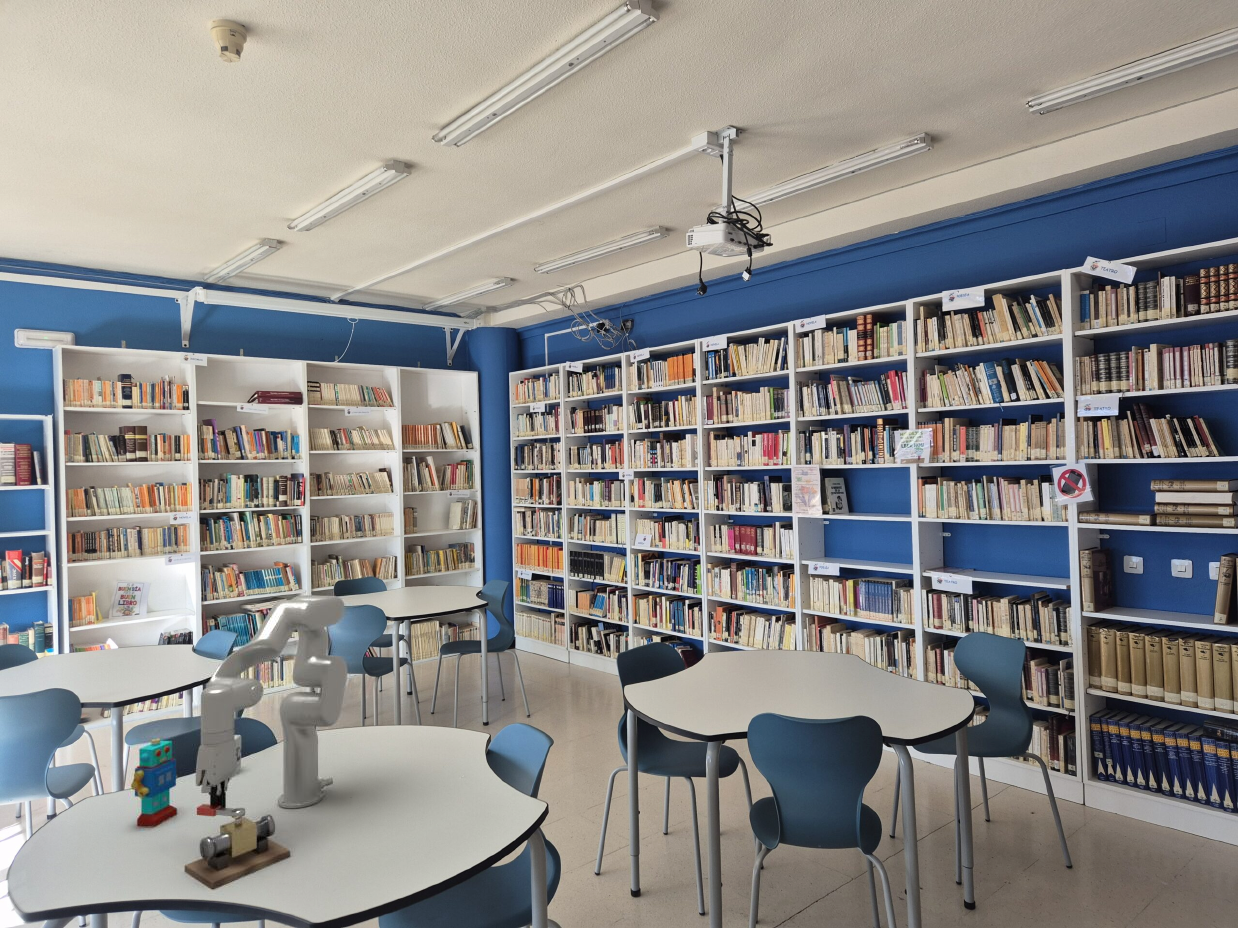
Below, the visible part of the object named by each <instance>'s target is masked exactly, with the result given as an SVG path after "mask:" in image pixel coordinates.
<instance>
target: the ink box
mask: <svg viewBox="0 0 1238 928" xmlns="http://www.w3.org/2000/svg"><path fill="white" fill-rule="evenodd" d="M234 738H235V743H236V752H237V770H236V772H235V773H234V776H233V777H235V776H236V774H237V773H238V774H239V773H240V772H241V771H242V735H240V734H234ZM238 774H237V775H238Z"/></svg>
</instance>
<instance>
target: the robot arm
mask: <svg viewBox="0 0 1238 928" xmlns="http://www.w3.org/2000/svg"><path fill="white" fill-rule="evenodd" d="M345 611H346V605H345V603H344V600H343V599H342V598H341V597H339V596H336V595H316V594H315V595H313V594H312V595H309V594H308V595H307V594H306V595H304V594H303V595H298V596H294V597H292V598H291V599H284V600H280V601H278V602H276V603H275V604H274V605H273V606H272V607H271V609H270V610H269V612H268V613H267V615H266V617H265V618H264V620H263V622H262V623H261V625H260V626H259V628H258V630H257V631H256V633H255V634H254V636H253V638H252V639H251V640H250V641H248V642H247V643H246V644H244V645H243V646H241V647H239V648H238V649H236V651H234V652H233V653H231V654H229V655H228V656H227V657H226V658H224V660H222V661H221V663H219V665H218V667H217V668H216V669H215V671H214V672H213V674H212V676H211V677H210V679H209V681H208V682H207V685H206V688H204V689H202V691H201V694H200V746H198V751H197V756H196V767H195V785H196V787H200V786H201V790H200V791H201V794H208V796H209V797H210V798H209V805H221V807H223V808H227V802H226V801H227V797H226V795H227V791H228V789H229V787H228V786H229V782H230V781H231V780H232V779H233V778H234V777H235V776H234V773H235V772H236V770H237V752H236V743H235V738H234V735H235V712H236V711H239V710H246V709H249V708H252V707H254V706H255V705H257V704H258V703H259V702H260V701H261V700H262V697H263V695H264V686H263V684H262V682H260V680H258V679H255V678H250V677H249V678H247V677H239V676H240V675H241V674H243V672H245V671H247V670H249V669H251V668H253V667H254V666H255V667H256V666H258V665H261V664H264V663H266V662H269V661H271V660H274V659H276V658H277V657H279V656H280V655H281V654H282V652H283V650H284V648H285V646H286V645H287V643H288V641H289V640H290V639H291V636H292V635H293V632H295V631H297V635H298V642H297V643H298V644H297V648H296V654H295V660H294V664H293V667H292V668H293V669H292V681H293V683H294V684H295V685H296V686H298V687H303V688H315V689H318V688H319V689H322V690H321V692H315V691H295V692H294V691H293V692H291V693H288V694H287V695H286V696H284V697H283V699H282V700H281V703H280V705H279V719H280V722H281V723H280V724H281V726H282V739H283V743H282V744H283V756H282V757H283V777H282V778H283V781H282V782H283V784H282V785H283V789H282V791H283V793H282V794H281V795H280V796H278V799H277V804H278V806H279V807H280V808H283V809H297V808H299V809H300V808H304V807H308V806H311V805H314V804H316V803H319V802H320V801H322V799H323V798H324V793H325V792H324V790H323V789H324V788H325V787H328V786H331V785H333V784H334V780H333V778H332V777H329V778H326V779H325V778H323V777H322V778H320V779H319V735H318V732H317V730H316V728H315V727H320V728H327V727H328V728H329V727H331V726H333V725H335V724H336V723H337V722H338V720H339V718H340V716H341V712H342V707H343V701H344V697H345V690H346V684H347V679H348V666H347V663H346V661H345V659H344V658H343V657H341V656H338V655H331V654H330V655H327V653H328V651H327V650H328V645H329V635H328V632H327V630H326V629H325V628H328V627H331V626H334V625H337V624H338V623H340V621H341V620H342V619H343V617H344V615H345Z"/></svg>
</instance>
